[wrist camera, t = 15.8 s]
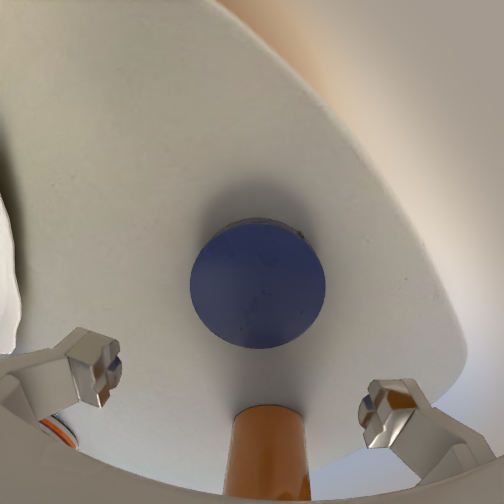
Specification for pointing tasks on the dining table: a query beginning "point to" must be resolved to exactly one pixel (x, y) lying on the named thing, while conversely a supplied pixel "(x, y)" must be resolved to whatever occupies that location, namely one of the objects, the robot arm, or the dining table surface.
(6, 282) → the plate
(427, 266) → the dining table surface
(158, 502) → the robot arm
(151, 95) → the dining table surface
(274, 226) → the jar lid
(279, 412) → the jar
